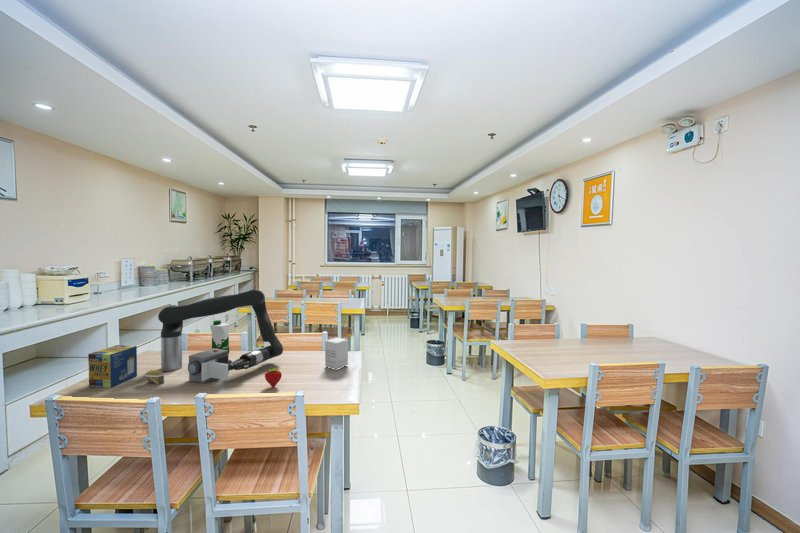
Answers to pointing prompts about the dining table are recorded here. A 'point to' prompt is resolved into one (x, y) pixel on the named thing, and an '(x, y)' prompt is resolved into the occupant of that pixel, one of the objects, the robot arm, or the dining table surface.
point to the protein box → (112, 366)
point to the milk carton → (220, 335)
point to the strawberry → (273, 376)
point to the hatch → (214, 370)
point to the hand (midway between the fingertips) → (223, 369)
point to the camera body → (203, 357)
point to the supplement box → (336, 353)
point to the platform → (155, 376)
